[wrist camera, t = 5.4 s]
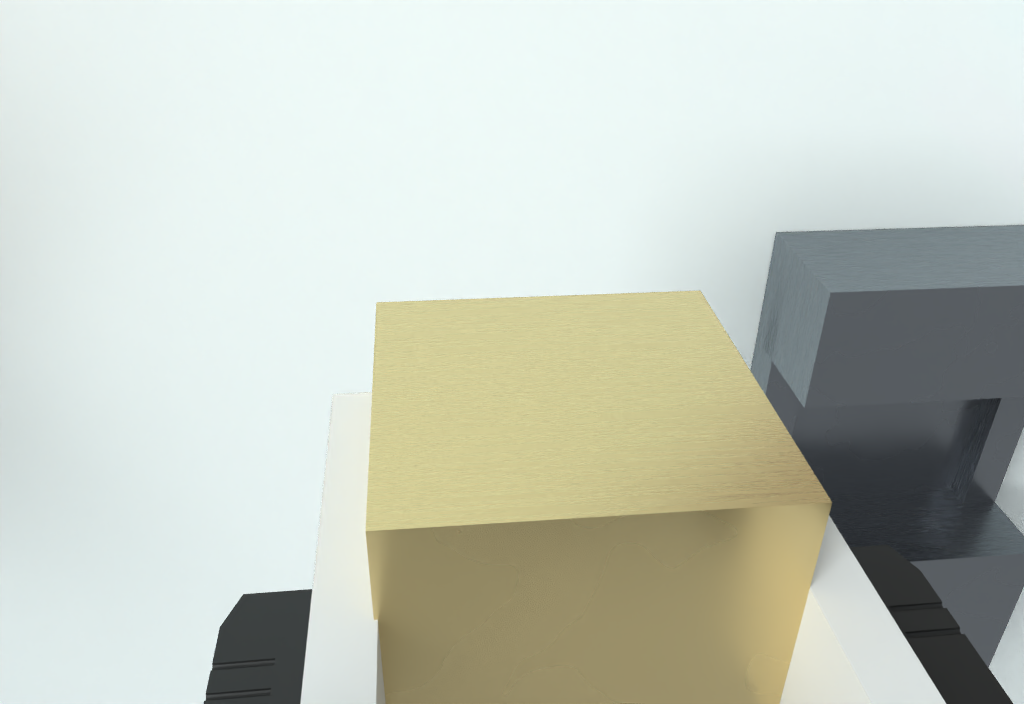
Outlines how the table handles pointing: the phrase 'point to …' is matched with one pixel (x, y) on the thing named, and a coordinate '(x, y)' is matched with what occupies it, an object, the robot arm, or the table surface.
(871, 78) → the table surface
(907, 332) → the grey stepped block holder
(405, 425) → the sand colored cube
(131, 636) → the table surface
